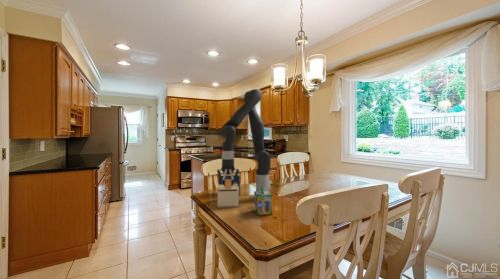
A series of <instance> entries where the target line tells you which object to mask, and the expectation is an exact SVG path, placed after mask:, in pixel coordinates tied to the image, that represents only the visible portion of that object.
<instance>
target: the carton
mask: <svg viewBox="0 0 500 279" xmlns="http://www.w3.org/2000/svg"><path fill="white" fill-rule="evenodd" d="M239 199H240V196H239V190H217V209H218V208H220V209H222V208H239V207H240V206H239V205H240V200H239Z"/></svg>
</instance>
